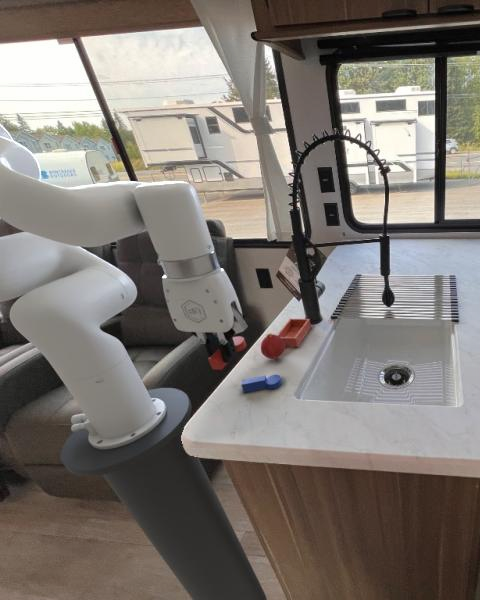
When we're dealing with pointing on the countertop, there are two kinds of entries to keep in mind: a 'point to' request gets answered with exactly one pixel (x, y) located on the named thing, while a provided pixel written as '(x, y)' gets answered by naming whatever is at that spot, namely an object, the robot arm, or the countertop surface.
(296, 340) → the red tub
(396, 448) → the countertop surface
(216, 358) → the red spoon
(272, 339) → the onion
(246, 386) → the blue spoon
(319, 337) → the countertop surface
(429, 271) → the countertop surface
